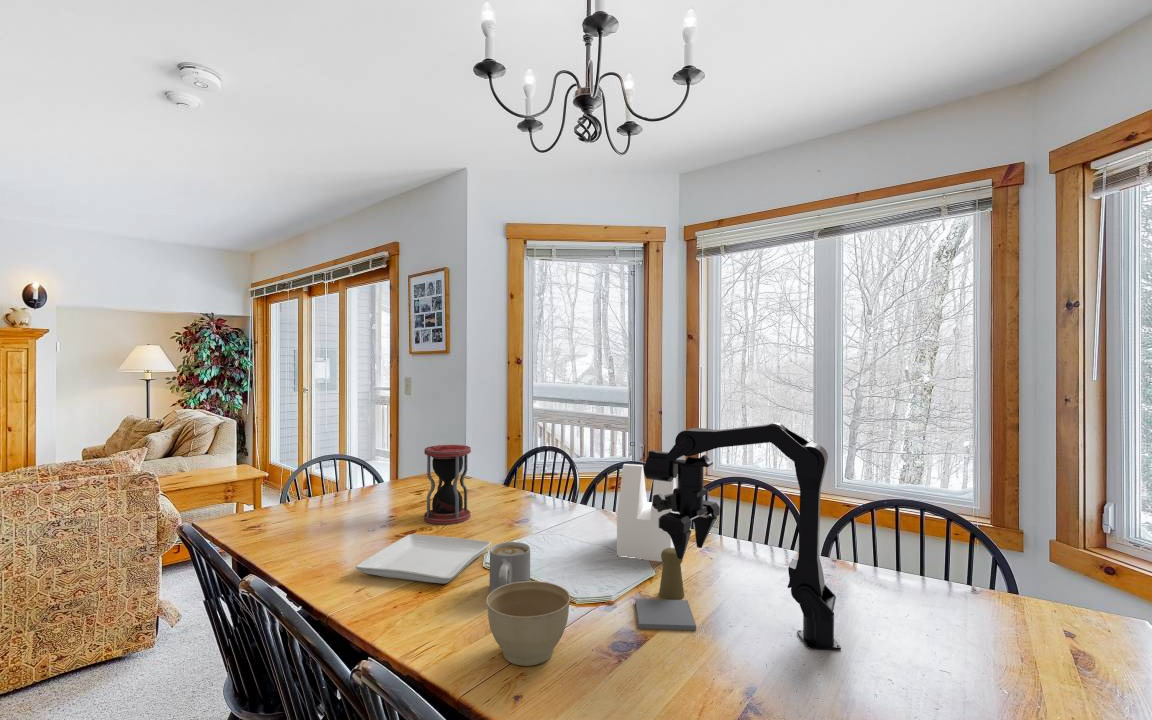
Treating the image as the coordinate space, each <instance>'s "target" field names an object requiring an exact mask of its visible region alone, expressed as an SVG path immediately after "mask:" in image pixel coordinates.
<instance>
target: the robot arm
mask: <svg viewBox="0 0 1152 720" xmlns="http://www.w3.org/2000/svg"><path fill="white" fill-rule="evenodd" d="M767 443H770V444H772V445H774V446H775V447H776V448H777V449H778V450H779V451H780V452H781V453H783V455H785V456H786V457H787V458H788V459H790V460H791V461H792V462H793V463H794V471H795V476H796V479H797V484H798V488H799V515H798V516H799V519H798V520H799V521H798V522H799V523H798V524H799V525H798V555H797V556H798V558H797V559H795V558H792V559H791V562H790V564H789V566H788V567H787V570H788V577H789V578H788V579H789V581H788V585H787V589H790V594H791V597H792V599H794V600H795V601H796V603H798V605H799V608H800V610H801V613H802V617H803V618H802V619H803V621H802V624H803V625H802V629H798V630H796V634H797V635H798V636H799V638H800V640H801V641H802V642H803V644H804V645H805V646H806V648H807V649H810V650H811V649H813V650H814V649H815V650H837V651H838V650H839V651H840V650H841V649H842V645H840V644H839V642H838V641H837V640H836V638H835V612H834V610H835V609H834V608H835V604H836V600H837V599H836V598H837V596H836V595H835V593H833V592H832V590H831V589H830V588H829V587H828V586H827V585H826V583H825V576H824V570H823V566H822V562H821V558H820V535H821V534H820V531H821V530H820V527H821V525H820V524H821V491H822V486H823V481H824V478H825V474H826V469H827V464H828V460H829V456H828V452H827V450H826V449H825V448H824V447H823V445H821V444H820V443H816V442H810V441H808V440H807V439H805V438H804V437H802V436H800V435H799V434H797V433H796V432H794V431H793V430H790V429H789V428H787V426H785V425H784V424H783V423H781V422H778V421H776V422H775V421H773V422H771V423H767V424H759V425H758V424H757V425H750V426H743V427H742V426H741V427H733V428H725V429H713V428H712V429H711V428H702V427H701V428H700V427H691V428H688V429H685V430H682V431H680V432H679V433H678V434H677V435H676V437H675V440H674V445H673V446H672V447H671V449H670V450H669V451H668V452H667V451H666V452H665V451H659V450H655V449H651V450H649V451H648V455H647V457H646V461H645V465H643V470H644V478H646V480H653V481H654V480H659V481H667V482H671V481H672V480H673V478H676V479H677V486H676V488H675V489H674V490H673V493H672V494H668V495H663V494H662V493H661V494H656V495H654V496H653V503H652V506H653V507H654V508H655V509H657V511H658V512H662V511H663V510H668V509H672V511H673V512H677V513H672V512H669V513H666V514H664V515H662V516H661V517H660V518H659V526H658V527H659V528H661V529H662V530H663V531H666V532H667V533H668V534H669V535H670V537H671V539H672V542H673V545H674V548H675V551H676V554H677V557H678V558H679V559H683V558H684V556H685V553H686V550H687V547H688V543H689V540H690V537H691V534H692V530H691V528H692V522H693V524H694V532H695V533H694V534H695V543H696V547H697V548H698V549H702V548H703V546H704V545H705V542H706V540H707V537H708V536H709V534H710V532H711V530H712V527H713V526H714V524H715V522H716V521H717V519H718V516H721V515H720V514H721V512H720V511H721V509H720V505H719V504H718V503H717V501H716V502H715V501H709V500H706V499H705V500H704V495H706V494H707V493H708V489H707V488H705V487H704V468H709V467H711V466H713V464H714V462H713V461H712V460H711V459H710V458H709V457H708V456H707V454H703V453H706V452H709V451H712V450H715V449H720V448H728V447H730V448H731V447H738V446H746V445H747V446H748V445H757V444H759V445H760V444H767ZM699 454H703V455H701V457H698V456H695V455H699ZM694 456H695V457H694ZM682 457H687V458H686V459H679V458H682ZM683 560H684V559H683Z"/></svg>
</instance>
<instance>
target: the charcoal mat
mask: <svg viewBox="0 0 1152 720" xmlns="http://www.w3.org/2000/svg"><path fill="white" fill-rule="evenodd" d="M635 608H636V609H635V611H636V617H637V624H638V625H637V626H638V629H647V630H674V631H675V630H676V631H697V623H696V620H695V618H694V615H693V613H692V610H691V607H690V603H689V601H688V599H680V600H667V599H664V598H662V599H661V598H657V599H655V598H654V599H653V598H635Z"/></svg>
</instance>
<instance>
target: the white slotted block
mask: <svg viewBox="0 0 1152 720" xmlns="http://www.w3.org/2000/svg"><path fill="white" fill-rule="evenodd" d="M652 484H653V485H652V493H651V494H652V496H651V501H648V499H647V491H646V490H647V489H646V480H645V473H644V464H636V463H624V464H623V465H622V472H621V479H620V488H619V497H618V506H617V514H616V515H617V516H616V556H617V555H618V556H627V557H635V558H641V559H646V560H645V561H651V562H653V561H654V562H658V563H659V562H660V563H661V562H662V563H663V561H662V559H661V553H662V551H663V550H664V549H666V548H674V545H673V542H672V539H671V537H670V535H669V534H668V533H667V532H666V531H663V530H662V529H661V528H659V527H658V526H659V518H660V517H661V516H662V515H664V514H666V513H669V512H672V513H677V514H678V512H673V511H672V509H668V510H663V511H662V512H658V511H657V509H655V508H654V507H653V506H652V503H653V496H654V495H656V494H661V493H662V494H663V495H668V494H672V493H673V490H674V489H675V488H677V477H676V478H673V480H672V481H671V482H667V481H659V480H653V483H652ZM641 559H640V560H641Z"/></svg>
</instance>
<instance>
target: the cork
mask: <svg viewBox="0 0 1152 720" xmlns="http://www.w3.org/2000/svg"><path fill="white" fill-rule="evenodd" d="M661 559H662V561H663V562H662V571H661V576H660V578H661V579H660V585H659V592H658V595H659V597H660V598H662V599H666V600H684V598H685V592H684V591H685V590H684V582H683V573H682V566H681V564H682V563H683V560H684V559H679V558H678V557H677V554H676V551H675V548H666V549H664V550H663V551H662V553H661Z"/></svg>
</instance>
